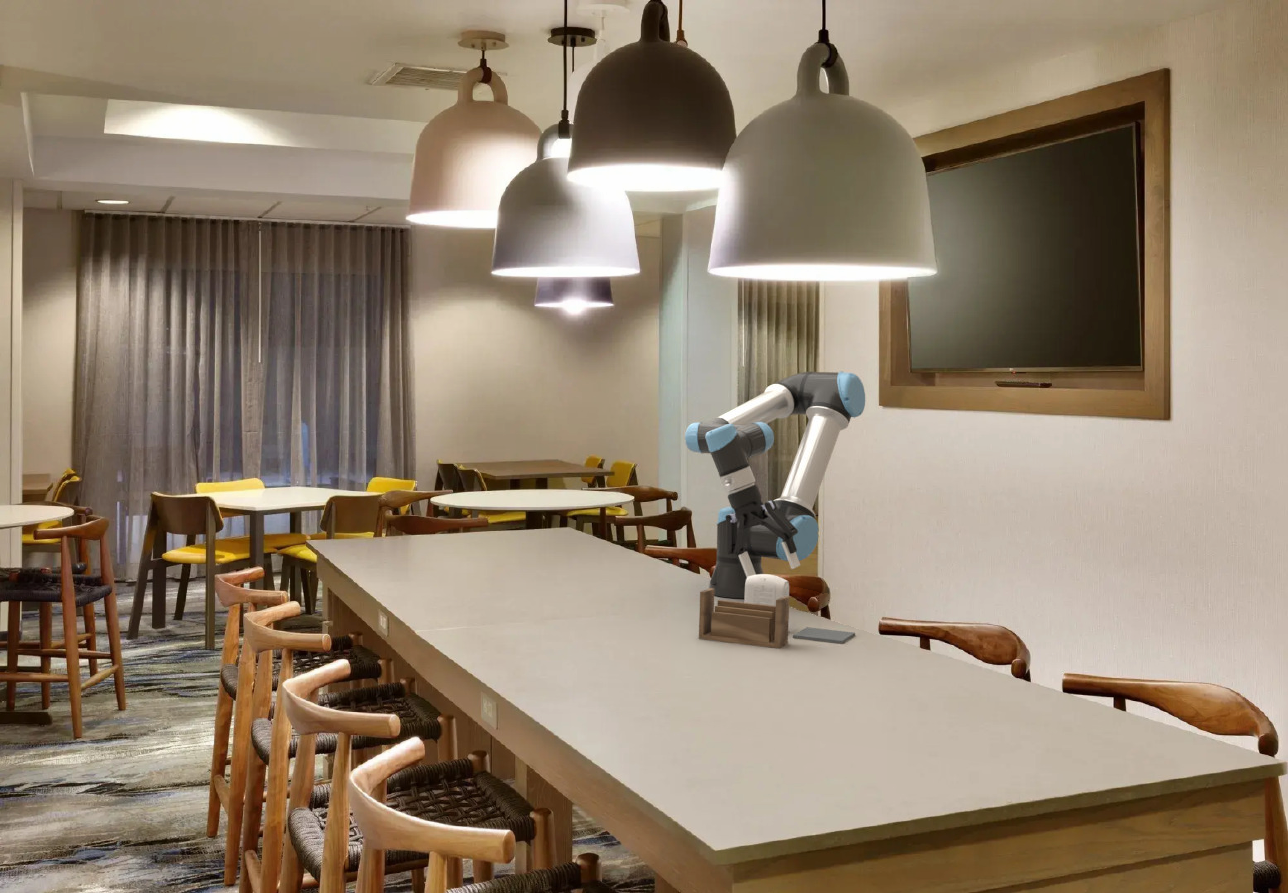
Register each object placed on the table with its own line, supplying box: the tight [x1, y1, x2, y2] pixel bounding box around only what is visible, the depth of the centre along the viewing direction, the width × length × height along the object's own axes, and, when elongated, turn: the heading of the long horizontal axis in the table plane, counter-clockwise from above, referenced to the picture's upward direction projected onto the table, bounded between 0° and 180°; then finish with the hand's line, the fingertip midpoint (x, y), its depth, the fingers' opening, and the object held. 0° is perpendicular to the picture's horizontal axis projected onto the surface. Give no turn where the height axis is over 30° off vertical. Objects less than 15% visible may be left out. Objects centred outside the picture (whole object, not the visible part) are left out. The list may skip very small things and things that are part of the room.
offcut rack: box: [698, 587, 790, 649], centre depth 254 cm, size 6×18×10 cm, turn 64°
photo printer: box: [743, 573, 790, 606], centre depth 266 cm, size 10×4×12 cm, turn 61°
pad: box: [792, 626, 856, 644], centre depth 261 cm, size 10×11×1 cm
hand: (773, 573), depth 282 cm, fingers open, 13 cm apart
